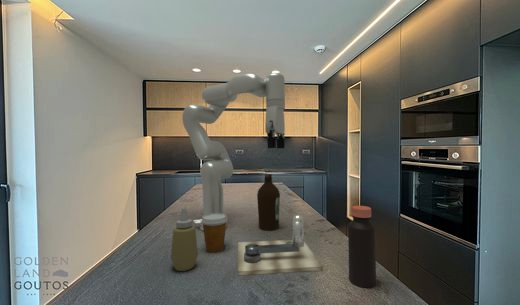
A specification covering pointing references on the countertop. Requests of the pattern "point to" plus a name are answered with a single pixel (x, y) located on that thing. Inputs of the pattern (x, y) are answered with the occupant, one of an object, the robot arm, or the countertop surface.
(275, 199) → the olive oil
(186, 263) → the squeeze bottle
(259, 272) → the lever board
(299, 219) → the lever
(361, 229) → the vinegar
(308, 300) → the countertop surface
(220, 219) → the disposable coffee cup
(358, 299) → the countertop surface
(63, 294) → the countertop surface
